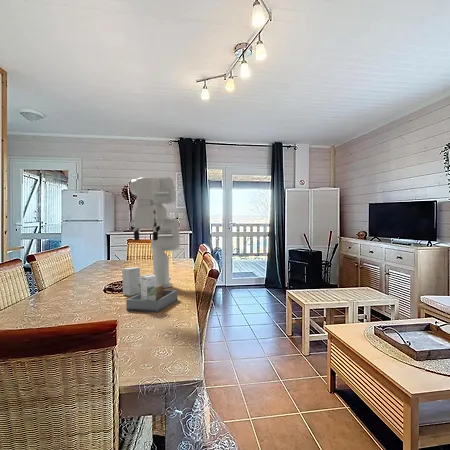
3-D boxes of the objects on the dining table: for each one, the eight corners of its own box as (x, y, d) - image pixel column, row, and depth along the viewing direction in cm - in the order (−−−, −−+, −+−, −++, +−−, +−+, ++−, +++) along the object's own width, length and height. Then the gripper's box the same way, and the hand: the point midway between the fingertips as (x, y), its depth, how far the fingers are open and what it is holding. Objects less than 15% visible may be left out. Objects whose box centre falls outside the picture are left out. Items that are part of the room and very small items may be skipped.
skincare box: (130, 296, 176) (129, 269, 176) (122, 295, 179) (121, 268, 179) (141, 292, 183) (140, 267, 183) (133, 291, 186) (132, 266, 186)
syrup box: (149, 303, 157) (148, 274, 156) (157, 305, 153) (156, 275, 153) (139, 306, 152) (138, 275, 152) (147, 308, 148) (146, 277, 148)
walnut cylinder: (156, 298, 166) (156, 285, 166) (165, 298, 165) (165, 285, 164) (151, 300, 161) (151, 287, 161) (160, 301, 160) (160, 287, 160)
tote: (149, 298, 170) (149, 289, 170) (177, 299, 166) (177, 290, 166) (126, 310, 149) (126, 299, 149) (157, 312, 145) (157, 301, 145)
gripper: (165, 203, 152) (166, 239, 153) (133, 204, 157) (134, 239, 157) (158, 203, 145) (159, 241, 146) (124, 204, 150) (125, 240, 150)
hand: (146, 240), depth 152 cm, fingers open, 9 cm apart
